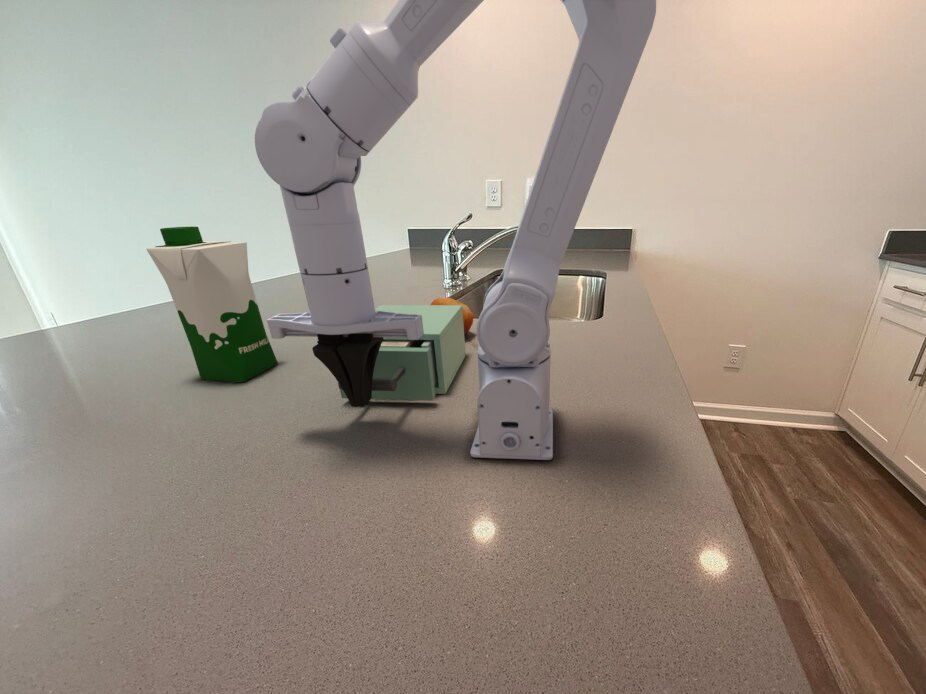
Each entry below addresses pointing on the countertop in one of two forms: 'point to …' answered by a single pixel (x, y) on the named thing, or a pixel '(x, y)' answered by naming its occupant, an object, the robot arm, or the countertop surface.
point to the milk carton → (215, 304)
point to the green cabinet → (439, 337)
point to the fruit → (467, 313)
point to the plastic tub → (399, 343)
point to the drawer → (404, 373)
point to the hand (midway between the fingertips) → (361, 402)
